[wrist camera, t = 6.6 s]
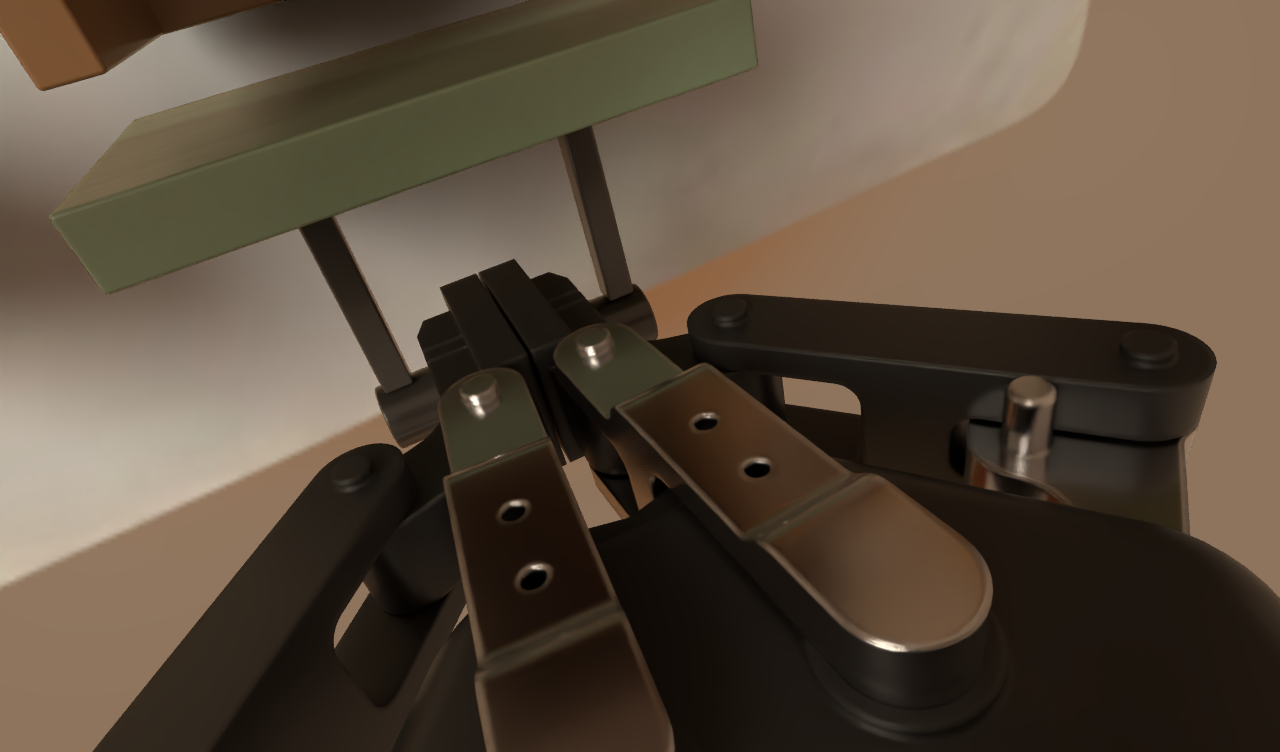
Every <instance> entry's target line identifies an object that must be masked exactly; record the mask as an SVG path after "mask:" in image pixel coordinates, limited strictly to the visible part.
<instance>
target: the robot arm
mask: <svg viewBox="0 0 1280 752" xmlns="http://www.w3.org/2000/svg"><path fill="white" fill-rule="evenodd" d="M479 278H480V279H479ZM479 278H478V276H477V275H476V274H473V275H471V276H468V277H465V278H463V279H460V280H458V281H455V282H452V283H450V284H447V285H444V286H442V287H440V290H441V292H442V295H443V297H444V300H445V302H446V305H447V307H448V309H449V311H448V312H445V313H443V314H440V315H438V316H435V317H432V318H430V319H427V320H425V321H423V323H422V326H421V328H420V331H419V333H418V336H417V338H418V341H419V344H420V346H421V349H422V351H423V354H424V357H425V359H426V362H427V365H428V367H429V370H430V373H431V375H432V378H433V380H434V383H435V386H436V388H437V391H438V393H439V396H440V400H439V402H438V414H439V419H440V422H439V424H438V425H437V426H436V428H435V429H434V430H433V431H432V433H431V434H430V435H429V436H428V437H426V438H425V439H424V440H423V441H422V442H420V443H419V444H418V445H416V446H415V447H413V448H412V449H410V450H409V451H408V452H406V453H404V454H402V452H401V451H400V450H399V449H398V448H397V447H395V446H393V445H389V444H383V443H380V444H379V443H378V444H369V445H365V446H361V447H358V448H355V449H353V450H350V451H348V452H346V453H344V454H342V455H340V456H339V457H337V458H335V459H334V460H332V461H331V462H330V463H328V464H327V465H326V466H325V467H324V468H322V469H321V470H320V471H319V473H318V474H317V475H316V476H315V477H314V478H313V480H312V481H311V482H310V483H309V484H308V486H307V487H306V488H305V489H304V491H303V492H302V493H301V494H300V496H299V497H298V498H297V499H296V501H295V502H294V503H293V504H292V506H291V507H290V508H289V509H288V510H287V512H286V513H285V514H284V515H283V517H282V518H281V519H280V520H279V522H278V523H277V524H276V525H275V526H274V528H273V529H272V530H271V532H270V533H269V534H268V535H267V536H266V538H265V539H264V540H263V541H262V543H261V544H260V545H259V546H258V548H257V549H256V550H255V551H254V553H253V554H252V555H251V556H250V558H249V559H248V560H247V561H246V562H245V564H244V565H243V566H242V567H241V569H240V570H239V571H238V572H237V573H236V575H235V576H234V577H233V578H232V580H231V581H230V582H229V584H228V585H227V586H226V587H225V588H224V590H223V591H222V592H221V593H220V595H219V596H218V597H217V598H216V599H215V601H214V602H213V603H212V605H211V606H210V607H209V608H208V609H207V611H206V612H205V613H204V614H203V616H202V617H201V618H200V619H199V620H198V622H197V623H196V624H195V625H194V627H193V628H192V629H191V630H190V632H189V633H188V634H187V636H186V637H185V638H184V639H183V640H182V641H181V643H180V644H179V645H178V647H177V648H176V649H175V650H174V651H173V653H172V654H171V655H170V656H169V658H168V659H167V660H166V661H165V663H164V664H163V665H162V666H161V667H160V669H159V670H158V671H157V672H156V674H155V675H154V676H153V677H152V679H151V680H150V681H149V683H148V684H147V685H146V686H145V687H144V689H143V690H142V691H141V692H140V694H139V695H138V696H137V697H136V698H135V700H134V701H133V702H132V703H131V705H130V706H129V707H128V708H127V710H126V711H125V712H124V713H123V714H122V716H121V717H120V718H119V720H118V721H117V722H116V723H115V725H114V726H113V727H112V728H111V729H110V731H109V732H108V733H107V734H106V735H105V737H104V738H103V739H102V741H101V742H100V743H99V744H98V746H97V747H96V748H95V749H94V750H93V752H1280V598H1279V597H1278V596H1277V595H1276V594H1275V593H1274V592H1273V591H1272V589H1271V588H1270V587H1269V586H1268V585H1267V584H1265V583H1264V582H1263V581H1262V580H1261V579H1260V578H1258V577H1257V576H1256V575H1255V574H1254V573H1252V572H1251V571H1250V570H1249V569H1248V568H1246V567H1245V566H1244V565H1242V564H1241V563H1239V562H1238V561H1236V560H1235V559H1233V558H1232V557H1230V556H1229V555H1227V554H1226V553H1224V552H1222V551H1220V550H1218V549H1216V548H1215V547H1213V546H1211V545H1209V544H1207V543H1206V542H1204V541H1201V540H1199V539H1197V538H1194V537H1192V536H1190V526H1189V511H1188V510H1189V509H1188V493H1187V477H1186V464H1187V460H1188V457H1189V454H1190V450H1191V447H1192V444H1193V441H1194V437H1195V434H1196V431H1197V428H1198V424H1199V421H1200V417H1201V414H1202V411H1203V408H1204V405H1205V401H1206V398H1207V395H1208V391H1209V388H1210V385H1211V382H1212V378H1213V375H1214V371H1215V368H1216V364H1217V361H1216V357H1215V354H1214V352H1213V351H1212V350H1211V349H1210V347H1209V346H1208V345H1206V344H1205V343H1204V342H1203V341H1201V340H1200V339H1198V338H1196V337H1195V336H1192V335H1190V334H1188V333H1186V332H1183V331H1180V330H1178V329H1174V328H1170V327H1167V326H1161V325H1156V324H1147V323H1132V322H1120V321H1107V320H1093V319H1079V318H1065V317H1052V316H1038V315H1024V314H1010V313H997V312H996V313H995V312H982V311H969V310H956V309H942V308H928V307H914V306H900V305H887V304H873V303H859V302H846V301H831V300H818V299H804V298H791V297H776V296H763V295H749V294H732V295H726V296H721V297H717V298H714V299H711V300H709V301H707V302H704V303H703V304H701V305H699V306H698V307H697V308H695V309H694V310H693V311H692V312H691V314H690V315H689V317H688V320H687V327H688V334H684V335H679V336H674V337H670V338H665V339H659V340H646V339H644V338H643V337H642V336H641V335H640V334H638V333H637V332H636V331H635V330H633V329H632V328H631V327H629V326H627V325H624V324H620V323H613V322H609V323H608V322H607V321H606V320H605V319H604V317H603V316H602V315H601V314H600V313H599V312H598V311H597V310H596V309H595V308H594V306H593V305H592V304H591V303H590V302H589V301H588V300H586V298H585V297H584V296H583V294H582V293H581V292H580V291H578V290H577V288H576V287H575V286H574V285H573V283H572V282H571V281H570V280H569V279H568V278H566V277H563V276H560V275H557V274H553V273H550V272H548V273H545V274H543V275H540V276H537V277H535V278H532V279H530V278H529V277H528V276H527V274H526V273H525V272H524V271H523V269H522V268H521V267H520V266H519V264H518V263H517V262H516V261H515V259H512V260H510V261H507V262H505V263H502V264H499V265H497V266H494V267H491V268H489V269H486V270H484V271H481V272H479ZM782 377H787V378H795V379H803V380H811V381H819V382H827V383H834V384H839V385H842V386H845V387H846V388H848V389H850V390H851V391H852V392H853V393H854V394H855V395H856V396H857V397H858V399H859V401H860V404H861V415H857V414H851V413H843V412H837V411H830V410H823V409H816V408H810V407H803V406H796V405H789V404H785V400H784V391H783V383H782ZM560 446H561V447H562V449H563V451H564V452H565V454H566V456H567V458H568V459H569V461H570V462H572V461H574V460H577V459H579V458H581V457H583V456H585V457H586V459H587V461H588V462H589V465H590V468H591V471H592V474H593V477H594V480H595V483H596V486H597V487H598V489H599V490H600V492H601V493H602V494H603V495H604V497H605V498H606V499H607V500H608V502H609V503H610V505H612V507H613V508H614V510H615V511H616V512H617V514H618V515H619V516H620V518H621V519H622V520H618V521H615V522H611V523H607V524H604V525H600V526H597V527H592V528H589V529H588V527H587V524H586V522H585V520H584V517H583V515H582V512H581V510H580V508H579V505H578V503H577V501H576V498H575V496H574V494H573V491H572V489H571V487H570V484H569V482H568V479H567V477H566V474H565V472H564V470H563V467H562V466H564V465H566V461H565V458H564V455H563V452H562V450H561V447H560ZM362 582H364V584H365V585H366V587H367V588H368V590H369V591H370V593H369V594H368V596H367V598H366V600H365V601H364V603H363V604H362V606H361V607H360V609H359V611H358V612H357V614H356V615H355V617H354V619H353V620H352V622H351V623H350V625H349V627H348V628H347V630H346V632H345V633H344V635H343V636H342V638H341V640H340V641H339V643H338V644H337V646H336V648H335V649H334V632H335V628H336V625H337V622H338V620H339V618H340V616H341V614H342V613H343V611H344V609H345V608H346V607H347V605H348V603H349V602H350V600H351V599H352V597H353V596H354V594H355V592H356V591H357V589H358V588H359V586H360V585H361V583H362ZM465 604H467V609H468V614H467V615H466V616H465V617H464V619H463V620H462V621H461V622H460V623H459V624H458V625H457V626H456V628H455V629H454V630H453V628H454V627H455V624H456V623H457V621H458V618H459V616H460V614H461V612H462V610H463V608H464V606H465ZM452 631H453V632H452Z"/></svg>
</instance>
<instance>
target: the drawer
mask: <svg viewBox="0 0 1280 752" xmlns="http://www.w3.org/2000/svg"><path fill="white" fill-rule="evenodd" d="M281 1H285V0H0V33H1V34H2V36H3V37H4V39H5V40H6V42H7V43H8V45H9V46H10V48H11V49H12V51H13V52H14V54H15V55H16V57H17V58H18V60H19V61H20V63H21V64H22V66H23V67H24V69H25V70H26V72H27V73H28V75H29V76H30V78H31V79H32V81H33V82H34V84H35V85H36V87H37V88H38V89H39V90H41V91H46V90H50V89H53V88H57V87H60V86H64V85H67V84H71V83H74V82H78V81H81V80H85V79H88V78H92V77H95V76H98V75H102V74H105V73H106V72H108V71H109V70H111V69H112V68H114V67H115V66H117V65H118V64H120V63H121V62H123V61H124V60H126V59H127V58H129V57H130V56H132V55H133V54H135V53H136V52H137V51H139V50H140V49H142V48H143V47H145V46H146V45H148V44H149V43H151V42H152V41H154V40H155V39H157V38H158V37H160V36H161V35H164V34H167V33H171V32H174V31H178V30H182V29H185V28H189V27H192V26H196V25H199V24H203V23H206V22H210V21H214V20H217V19H221V18H224V17H228V16H231V15H235V14H239V13H242V12H246V11H249V10H253V9H256V8H260V7H263V6H267V5H271V4H274V3H278V2H281ZM757 66H758V60H757V51H756V43H755V34H754V25H753V17H752V8H751V0H529V1H525V2H522V3H519V4H515V5H512V6H509V7H505V8H502V9H499V10H496V11H492V12H489V13H486V14H482V15H479V16H476V17H472V18H469V19H466V20H462V21H459V22H456V23H453V24H449V25H446V26H443V27H439V28H436V29H433V30H429V31H426V32H423V33H419V34H416V35H413V36H410V37H406V38H403V39H400V40H396V41H393V42H390V43H386V44H383V45H380V46H376V47H373V48H370V49H367V50H363V51H360V52H357V53H353V54H350V55H347V56H343V57H340V58H337V59H334V60H330V61H327V62H324V63H320V64H317V65H314V66H310V67H307V68H304V69H300V70H297V71H294V72H291V73H287V74H284V75H281V76H277V77H274V78H271V79H267V80H264V81H261V82H257V83H254V84H251V85H248V86H244V87H241V88H238V89H234V90H231V91H228V92H224V93H221V94H218V95H215V96H211V97H208V98H205V99H201V100H198V101H195V102H191V103H188V104H185V105H181V106H178V107H175V108H172V109H168V110H165V111H162V112H158V113H155V114H152V115H148V116H145V117H142V118H138V119H135V120H134V121H133V122H132V123H131V124H130V125H129V126H128V127H127V129H126V130H125V131H124V132H123V133H122V134H121V135H120V137H119V138H118V139H117V140H116V141H115V142H114V143H113V144H112V146H111V147H110V148H109V149H108V150H107V151H106V152H105V154H104V155H103V156H102V157H101V158H100V159H99V160H98V161H97V163H96V164H95V165H94V166H93V167H92V168H91V169H90V171H89V172H88V173H87V174H86V175H85V176H84V177H83V178H82V180H81V181H80V182H79V183H78V184H77V185H76V186H75V188H74V189H73V190H72V191H71V192H70V193H69V194H68V195H67V197H66V198H65V199H64V200H63V201H62V202H61V203H60V205H59V206H58V207H57V208H56V209H55V210H54V211H53V212H52V214H51V215H50V220H51V222H52V223H53V224H54V226H55V227H56V228H57V230H58V231H59V233H60V234H61V235H62V237H63V238H64V239H65V241H66V242H67V243H68V245H69V246H70V248H71V249H72V250H73V252H74V253H75V254H76V256H77V257H78V259H79V260H80V261H81V263H82V264H83V265H84V267H85V268H86V270H87V271H88V272H89V274H90V275H91V276H92V278H93V279H94V280H95V282H96V283H97V285H98V286H99V287H100V289H101V290H102V291H103V292H104V293H105V294H112V293H115V292H117V291H120V290H123V289H126V288H129V287H132V286H135V285H137V284H140V283H143V282H146V281H149V280H152V279H155V278H157V277H160V276H163V275H166V274H169V273H172V272H175V271H177V270H180V269H183V268H186V267H189V266H192V265H195V264H198V263H200V262H203V261H206V260H209V259H212V258H215V257H218V256H220V255H223V254H226V253H229V252H232V251H235V250H238V249H240V248H243V247H246V246H249V245H252V244H255V243H258V242H260V241H263V240H266V239H269V238H272V237H275V236H278V235H280V234H283V233H286V232H289V231H292V230H295V229H298V228H299V230H300V232H301V234H302V236H303V238H304V240H305V241H306V243H307V245H308V247H309V249H310V251H311V253H312V255H313V257H314V259H315V261H316V262H317V264H318V266H319V268H320V270H321V272H322V274H323V276H324V278H325V280H326V282H327V283H328V285H329V287H330V289H331V291H332V293H333V295H334V297H335V299H336V301H337V303H338V304H339V306H340V308H341V310H342V312H343V314H344V316H345V318H346V320H347V322H348V324H349V325H350V327H351V329H352V331H353V333H354V335H355V337H356V339H357V341H358V343H359V345H360V346H361V348H362V350H363V352H364V354H365V356H366V358H367V360H368V362H369V364H370V366H371V367H372V369H373V371H374V373H375V375H376V377H377V379H378V381H379V383H380V386H378V387H376V388H375V394H376V398H377V401H378V404H379V406H380V409H381V412H382V414H383V416H384V419H385V421H386V423H387V425H388V427H389V429H390V431H391V433H392V435H393V437H394V439H395V440H396V442H397V443H398V445H399V446H400V447H401V448H406V447H408V446H410V445H413V444H415V443H417V442H420V441H422V440H424V439H425V438H426V437H428V436H429V435H430V434H431V433H432V431H433V430H434V429H435V428H436V426H437V425H438V424H439V422H440V419H439V414H438V402H439V400H440V396H439V393H438V391H437V388H436V386H435V383H434V380H433V378H432V375H431V373H430V370H429V367H428V366H427V367H425V368H422V369H420V370H417V371H415V372H412V373H411V372H410V369H409V367H408V365H407V363H406V361H405V359H404V357H403V355H402V353H401V351H400V349H399V347H398V345H397V343H396V341H395V339H394V336H393V334H392V332H391V330H390V328H389V326H388V324H387V322H386V320H385V318H384V316H383V314H382V312H381V310H380V308H379V306H378V304H377V302H376V300H375V298H374V295H373V293H372V291H371V289H370V287H369V285H368V283H367V281H366V279H365V277H364V275H363V273H362V271H361V269H360V267H359V265H358V263H357V261H356V259H355V257H354V254H353V252H352V250H351V248H350V246H349V244H348V242H347V240H346V238H345V236H344V234H343V232H342V230H341V228H340V226H339V224H338V222H337V220H336V218H335V215H338V214H341V213H343V212H346V211H349V210H352V209H355V208H358V207H361V206H363V205H366V204H369V203H372V202H375V201H378V200H381V199H383V198H386V197H389V196H392V195H395V194H398V193H401V192H403V191H406V190H409V189H412V188H415V187H418V186H421V185H423V184H426V183H429V182H432V181H435V180H438V179H441V178H443V177H446V176H449V175H452V174H455V173H458V172H461V171H463V170H466V169H469V168H472V167H475V166H478V165H481V164H483V163H486V162H489V161H492V160H495V159H498V158H501V157H504V156H506V155H509V154H512V153H515V152H518V151H521V150H524V149H526V148H529V147H532V146H535V145H538V144H541V143H544V142H546V141H549V140H552V139H555V138H558V141H559V144H560V148H561V152H562V155H563V159H564V162H565V166H566V169H567V173H568V176H569V180H570V184H571V187H572V191H573V194H574V198H575V201H576V205H577V208H578V212H579V215H580V219H581V223H582V226H583V230H584V233H585V237H586V240H587V244H588V247H589V251H590V255H591V258H592V262H593V265H594V269H595V272H596V276H597V279H598V283H599V286H600V290H601V292H602V293H603V294H604V295H602V296H599V297H597V298H594V299H592V300H589V302H590V303H591V304H592V305H593V306H594V308H595V309H596V310H597V311H598V312H599V313H600V314H601V315H602V316H603V317H604V319H605V320H606V321H607V322H608V323H609V322H613V323H620V324H624V325H627V326H629V327H631V328H632V329H633V330H635V331H636V332H637V333H638V334H640V335H641V336H642V337H643V338H644V339H646V340H656V339H657V337H658V330H657V324H656V320H655V317H654V314H653V311H652V308H651V306H650V304H649V302H648V300H647V298H646V296H645V295H644V293H643V292H642V290H641V289H640V288H639V287H638V286H637V285H636V284H634V283H631V279H630V275H629V271H628V267H627V263H626V259H625V255H624V251H623V247H622V243H621V239H620V235H619V231H618V227H617V223H616V219H615V215H614V211H613V207H612V203H611V199H610V195H609V191H608V187H607V183H606V180H605V176H604V172H603V168H602V164H601V160H600V156H599V152H598V148H597V144H596V140H595V136H594V132H593V128H592V125H595V124H598V123H601V122H604V121H606V120H609V119H612V118H615V117H618V116H621V115H624V114H626V113H629V112H632V111H635V110H638V109H641V108H644V107H647V106H649V105H652V104H655V103H658V102H661V101H664V100H667V99H669V98H672V97H675V96H678V95H681V94H684V93H687V92H689V91H692V90H695V89H698V88H701V87H704V86H707V85H709V84H712V83H715V82H718V81H721V80H724V79H727V78H729V77H732V76H735V75H738V74H741V73H744V72H747V71H749V70H752V69H755V68H756V67H757Z"/></svg>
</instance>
